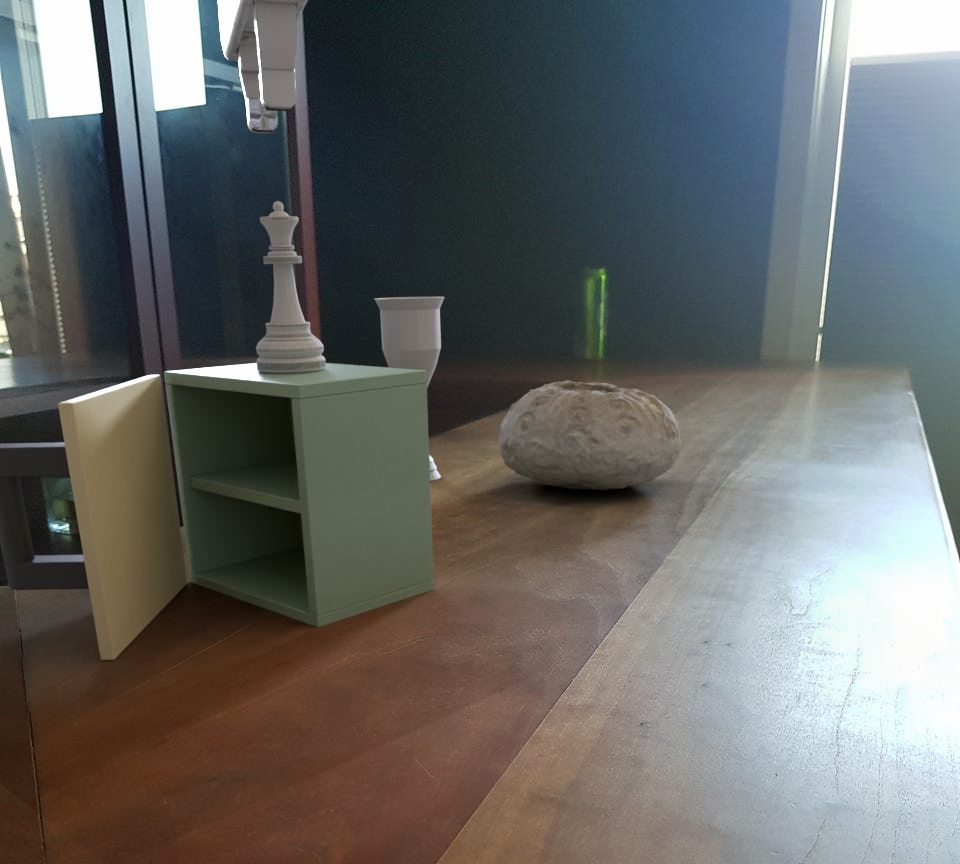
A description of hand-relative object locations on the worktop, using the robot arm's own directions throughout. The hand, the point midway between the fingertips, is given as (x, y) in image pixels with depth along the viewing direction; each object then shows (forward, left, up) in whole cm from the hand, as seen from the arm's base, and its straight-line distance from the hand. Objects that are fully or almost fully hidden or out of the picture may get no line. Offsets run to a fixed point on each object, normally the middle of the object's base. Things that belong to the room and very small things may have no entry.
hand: (270, 121), depth 58 cm
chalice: (+16, +35, -29) cm, 48 cm away
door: (-13, -3, -29) cm, 32 cm away
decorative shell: (+31, +24, -29) cm, 49 cm away
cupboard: (0, 0, -29) cm, 29 cm away
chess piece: (0, 0, -15) cm, 15 cm away
